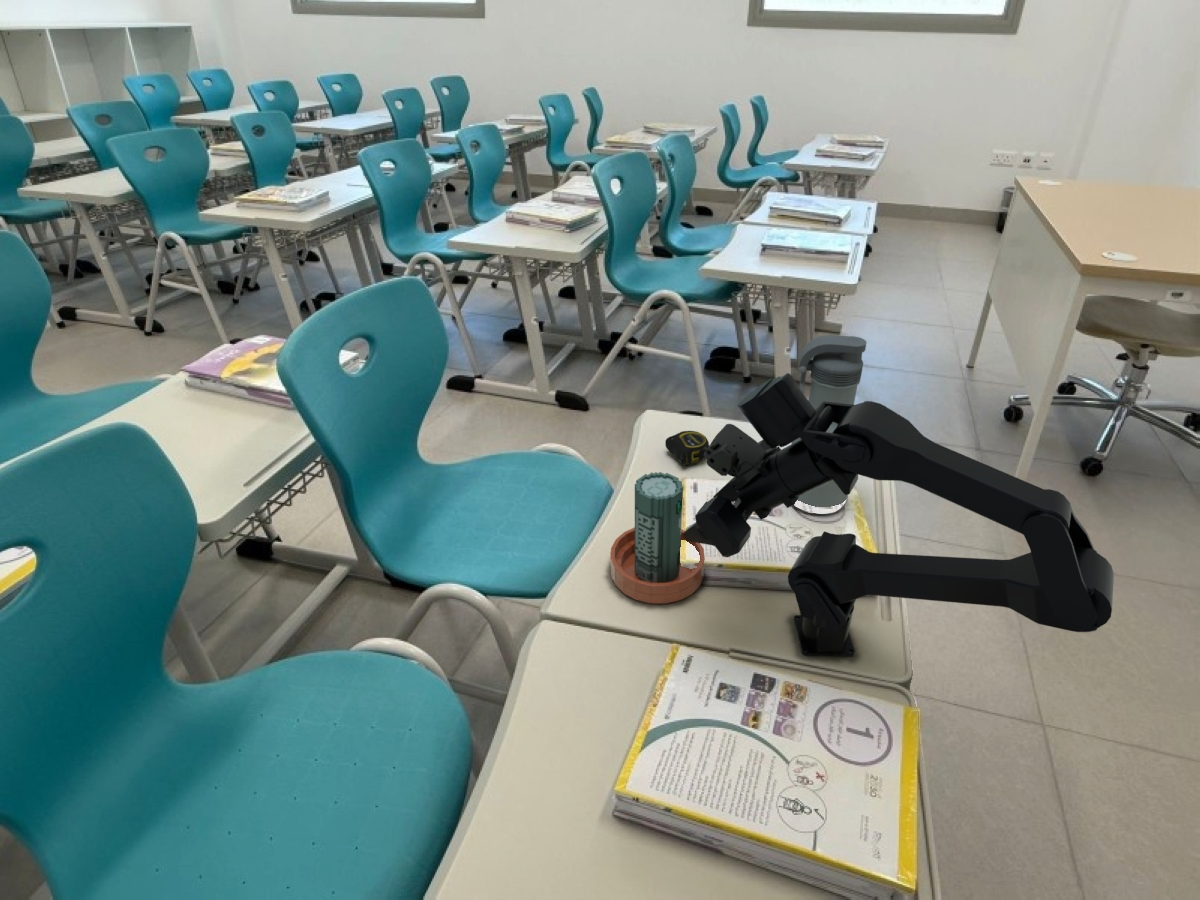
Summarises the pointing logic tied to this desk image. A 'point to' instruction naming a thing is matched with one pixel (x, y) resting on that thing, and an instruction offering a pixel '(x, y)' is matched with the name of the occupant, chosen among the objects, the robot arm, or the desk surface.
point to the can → (658, 527)
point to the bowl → (649, 591)
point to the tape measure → (687, 446)
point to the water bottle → (831, 391)
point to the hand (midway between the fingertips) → (700, 517)
